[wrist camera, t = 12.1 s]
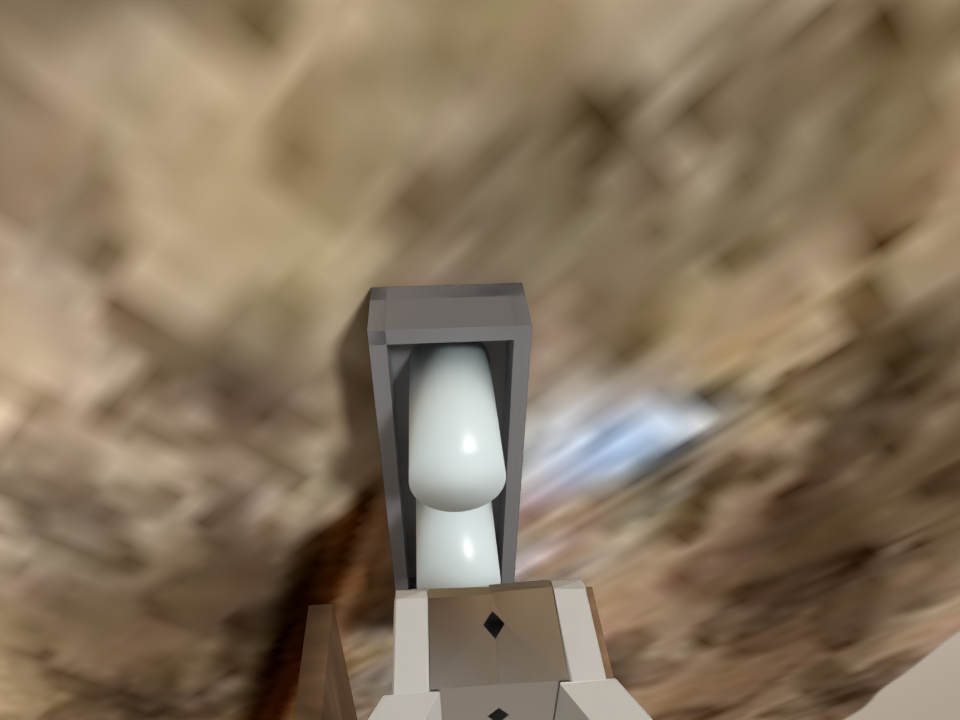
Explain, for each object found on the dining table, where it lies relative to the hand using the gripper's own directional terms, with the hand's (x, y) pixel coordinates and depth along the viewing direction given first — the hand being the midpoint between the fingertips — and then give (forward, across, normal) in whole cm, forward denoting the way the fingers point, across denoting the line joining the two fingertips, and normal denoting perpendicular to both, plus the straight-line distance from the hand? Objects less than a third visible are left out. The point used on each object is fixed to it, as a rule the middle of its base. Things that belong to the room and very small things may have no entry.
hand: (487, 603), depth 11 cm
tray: (+19, 0, +16) cm, 25 cm away
